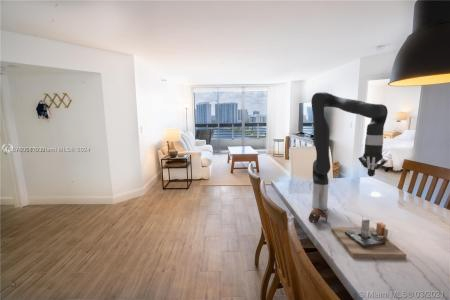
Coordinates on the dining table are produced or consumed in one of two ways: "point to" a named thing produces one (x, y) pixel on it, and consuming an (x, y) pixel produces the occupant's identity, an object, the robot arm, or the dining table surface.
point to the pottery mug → (317, 215)
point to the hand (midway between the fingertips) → (371, 176)
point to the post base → (372, 251)
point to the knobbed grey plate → (372, 236)
